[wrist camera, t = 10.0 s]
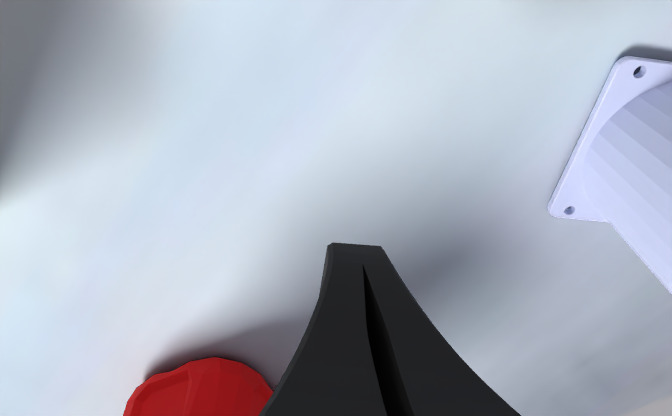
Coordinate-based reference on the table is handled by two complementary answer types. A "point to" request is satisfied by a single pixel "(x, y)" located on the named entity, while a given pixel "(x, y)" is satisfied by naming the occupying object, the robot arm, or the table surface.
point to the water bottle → (201, 391)
